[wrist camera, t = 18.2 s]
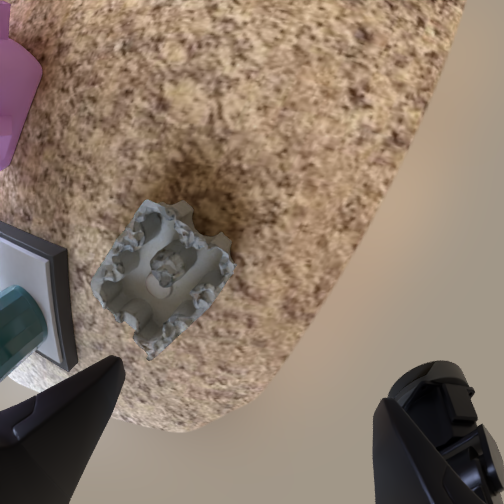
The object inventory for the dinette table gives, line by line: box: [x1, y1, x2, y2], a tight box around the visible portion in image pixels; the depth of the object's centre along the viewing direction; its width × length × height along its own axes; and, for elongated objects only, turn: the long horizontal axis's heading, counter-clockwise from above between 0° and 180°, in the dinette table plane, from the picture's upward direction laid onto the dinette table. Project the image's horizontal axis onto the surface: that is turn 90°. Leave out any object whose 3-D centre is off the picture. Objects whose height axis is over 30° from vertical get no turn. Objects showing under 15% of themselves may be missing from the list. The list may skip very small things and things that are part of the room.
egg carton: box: [91, 199, 237, 361], centre depth 21 cm, size 11×8×4 cm
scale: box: [0, 221, 78, 372], centre depth 27 cm, size 14×20×3 cm
